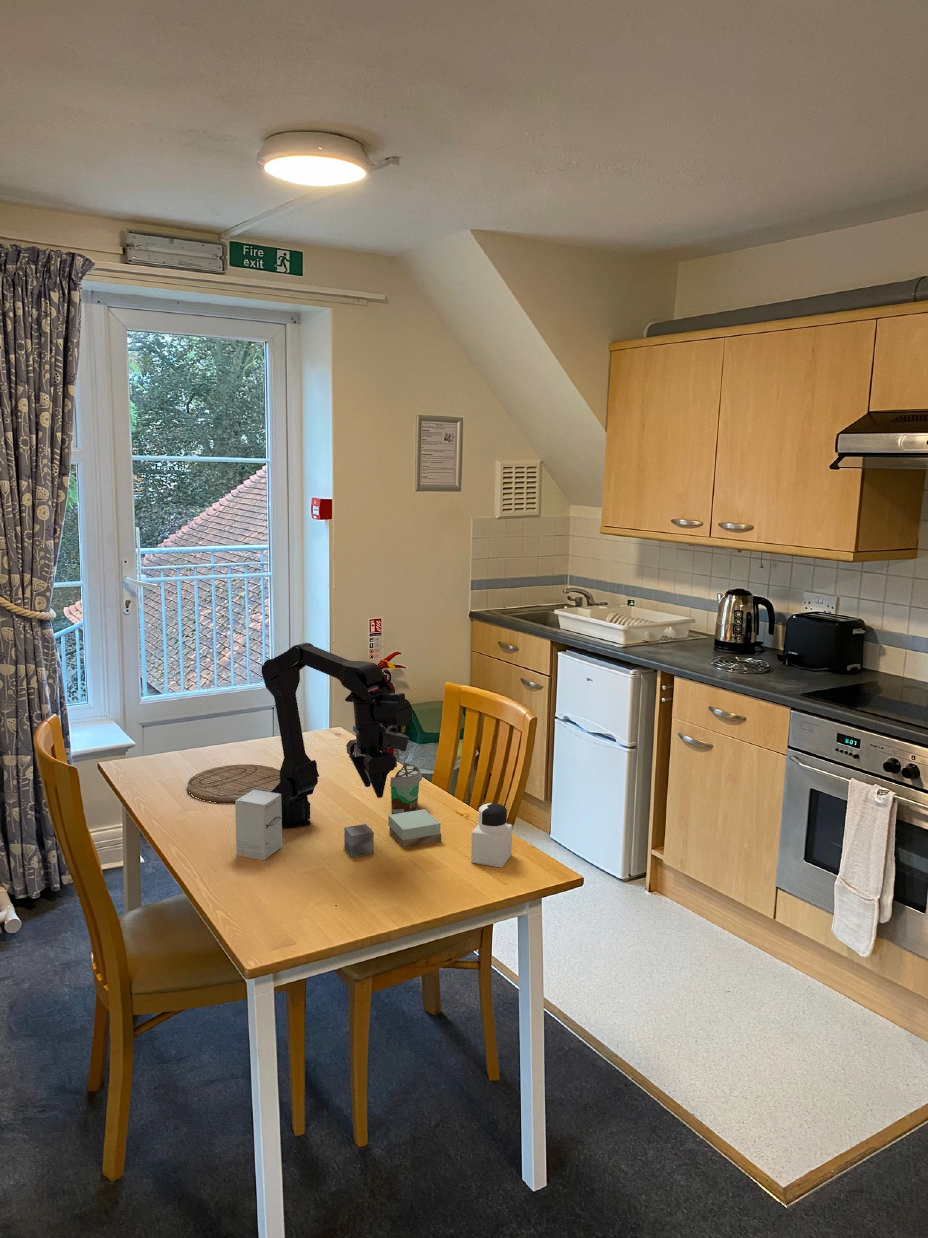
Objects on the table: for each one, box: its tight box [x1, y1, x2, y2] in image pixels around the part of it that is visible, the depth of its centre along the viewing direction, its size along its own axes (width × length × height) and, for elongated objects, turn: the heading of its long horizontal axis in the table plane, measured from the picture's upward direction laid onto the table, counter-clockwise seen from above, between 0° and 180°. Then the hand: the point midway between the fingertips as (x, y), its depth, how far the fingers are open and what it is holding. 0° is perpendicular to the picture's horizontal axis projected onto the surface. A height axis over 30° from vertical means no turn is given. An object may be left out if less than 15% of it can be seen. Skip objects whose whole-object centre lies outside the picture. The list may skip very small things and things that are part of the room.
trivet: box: [187, 763, 280, 804], centre depth 242 cm, size 25×25×2 cm
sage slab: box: [387, 808, 441, 840], centre depth 212 cm, size 9×9×2 cm
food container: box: [389, 762, 423, 814], centre depth 228 cm, size 12×6×10 cm, turn 168°
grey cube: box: [343, 823, 375, 858], centre depth 204 cm, size 5×5×5 cm
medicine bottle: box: [470, 802, 513, 868], centre depth 201 cm, size 7×7×12 cm
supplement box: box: [234, 790, 283, 861], centre depth 202 cm, size 7×7×13 cm
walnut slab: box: [389, 827, 442, 849], centre depth 212 cm, size 9×9×2 cm
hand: (373, 792), depth 204 cm, fingers open, 9 cm apart
